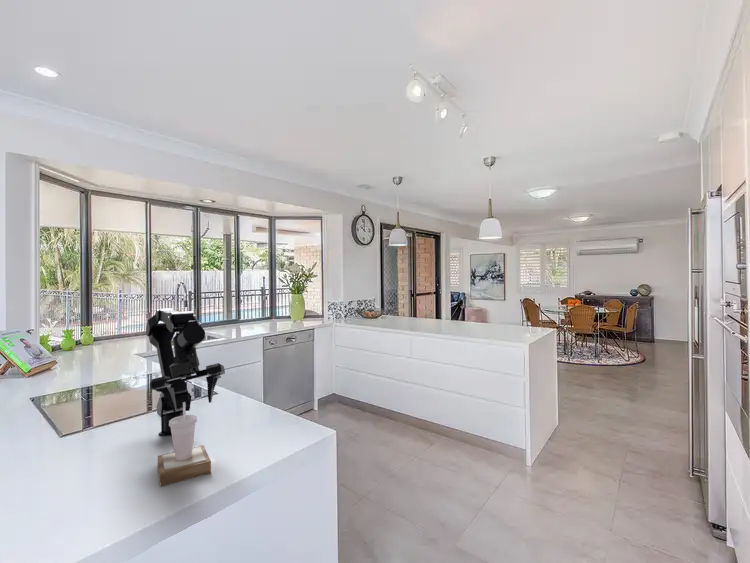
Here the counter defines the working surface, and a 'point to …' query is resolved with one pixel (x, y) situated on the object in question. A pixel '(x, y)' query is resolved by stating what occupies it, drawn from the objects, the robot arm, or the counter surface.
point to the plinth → (183, 466)
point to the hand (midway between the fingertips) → (192, 407)
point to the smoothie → (183, 434)
